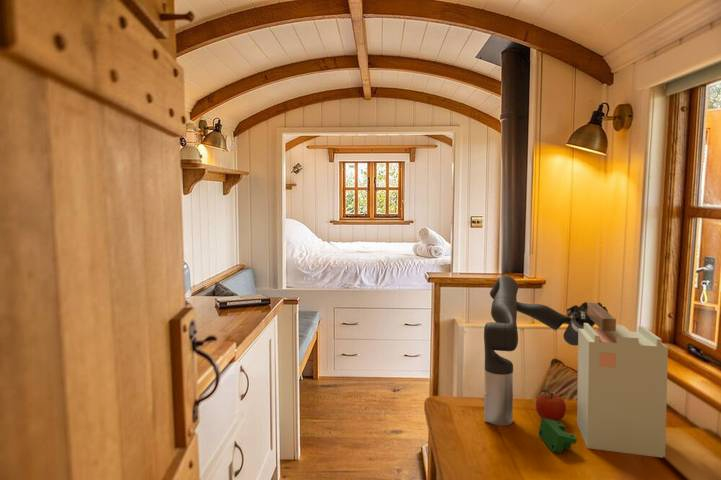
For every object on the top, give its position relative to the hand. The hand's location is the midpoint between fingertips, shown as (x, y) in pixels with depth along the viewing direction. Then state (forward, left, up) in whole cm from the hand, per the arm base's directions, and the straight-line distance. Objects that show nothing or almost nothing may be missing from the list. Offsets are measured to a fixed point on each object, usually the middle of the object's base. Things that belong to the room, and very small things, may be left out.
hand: (592, 305), depth 145 cm
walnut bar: (0, -9, -3) cm, 9 cm away
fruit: (-13, -3, -39) cm, 42 cm away
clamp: (-13, -20, -40) cm, 46 cm away
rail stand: (+5, -12, -39) cm, 41 cm away
